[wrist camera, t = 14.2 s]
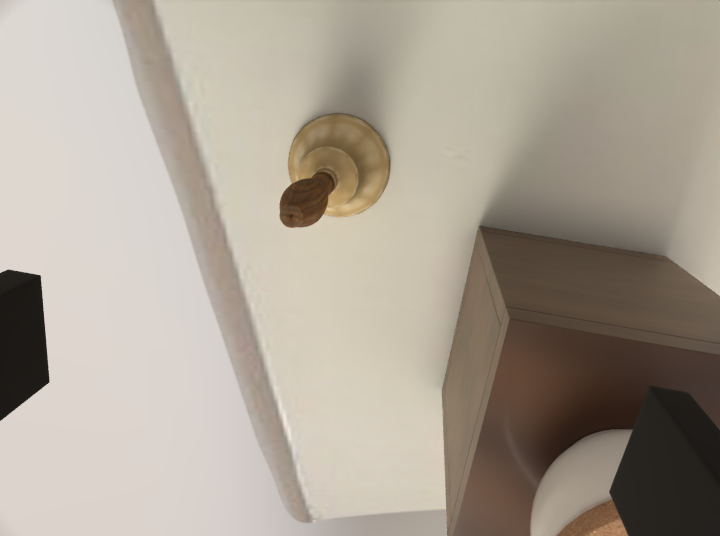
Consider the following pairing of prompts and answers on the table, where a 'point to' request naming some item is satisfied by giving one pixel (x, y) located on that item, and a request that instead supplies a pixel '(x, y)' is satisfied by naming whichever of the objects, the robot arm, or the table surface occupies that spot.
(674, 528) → the robot arm
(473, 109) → the table surface
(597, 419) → the bookshelf
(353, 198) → the hand bell
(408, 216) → the table surface
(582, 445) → the trinket box
